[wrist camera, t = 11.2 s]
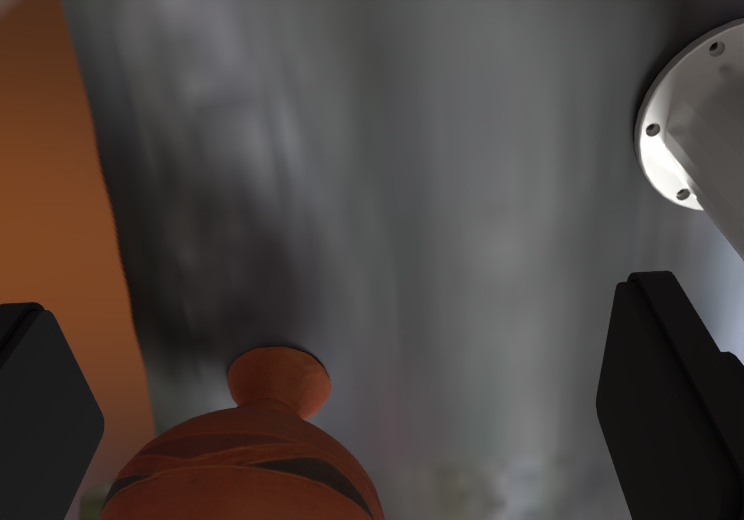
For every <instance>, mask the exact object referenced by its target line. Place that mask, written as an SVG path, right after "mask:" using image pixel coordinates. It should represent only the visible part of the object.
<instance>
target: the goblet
mask: <svg viewBox="0 0 744 520" xmlns="http://www.w3.org/2000/svg"><path fill="white" fill-rule="evenodd" d="M228 386H229V390H230V393H231V396H232V398H233V400H234V401H235V403H236V404H237V405H238V407H237V408H230V409H224V410H218V411H214V412H210V413H207V414H204V415H200V416H197V417H194V418H191V419H189V420H187V421H185V422H183V423H180V424H178V425H176V426H174V427H172V428H171V429H169V430H167V431H166V432H164V433H163V434H161V435H160V436H158V437H156V438H155V439H153V440H152V441H150V442H149V443H147V444H146V445H145V446H144V447H143V448H142V449H141V450H140V451H139V452H138V453H137V454H136V455H135V456H134V457H133V458H132V459H131V460H130V461H129V462H128V463H127V464H126V465H125V466H124V468H123V469H122V470H121V471H120V472H119V474H118V476H117V477H116V479H115V481H114V483H113V485H112V487H111V488H110V490H109V492H108V494H107V496H106V499H105V501H104V504H103V506H102V509H101V512H100V516H99V519H98V520H385V518H384V514H383V510H382V507H381V504H380V501H379V498H378V494H377V491H376V489H375V487H374V485H373V483H372V481H371V479H370V478H369V476H368V474H367V473H366V471H365V470H364V469H363V467H362V466H361V465H360V463H359V462H358V461H357V459H356V458H355V457H354V456H353V455H352V454H351V453H350V452H349V451H348V450H347V449H346V448H345V447H344V446H343V445H342V444H340V443H339V442H338V441H337V440H335V439H334V438H333V437H331V436H330V435H329V434H327V433H326V432H324V431H323V430H321V429H320V428H318V427H316V426H314V425H313V424H311V423H309V422H307V421H305V419H307V418H309V417H310V416H312V415H313V414H314V413H316V412H317V411H318V410H319V409H320V408H321V406H322V405H323V404H324V402H325V401H326V399H327V398H328V396H329V393H330V389H331V385H330V379H329V377H328V375H327V373H326V371H325V369H324V368H323V367H322V366H321V365H320V364H319V363H318V362H317V361H316V360H315V359H314V358H313V357H312V356H310V355H309V354H307V353H304V352H301V351H298V350H295V349H293V348H288V347H283V346H278V347H263V348H256V349H253V350H251V351H249V352H247V353H245V354H243V355H242V356H240V357H239V358H238V359H236V360H235V362H234V363H233V364H232V365H231V367H230V369H229V372H228Z"/></svg>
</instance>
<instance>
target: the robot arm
mask: <svg viewBox="0 0 744 520" xmlns="http://www.w3.org/2000/svg"><path fill="white" fill-rule="evenodd" d="M714 43H715V44H714ZM712 44H714V46H713V47H712V48H710V47H711V45H712ZM650 124H652V125H651V126H650V127H648V126H649V125H650ZM634 147H635V151H636V156H637V160H638V163H639V165H640V167H641V169H642V171H643V173H644V175H645V177H646V178H647V179H648V181H649V182H650V183H651V185H652V186H653V187H654V188H655V189H656V190H657V191H658V192H659V193H660V194H661V195H662V196H664V197H665V198H666V199H668V200H670V201H672V202H673V203H675V204H677V205H680V206H684V207H687V208H690V209H694V210H702V211H705V212H706V213H707V214H708V216H709V217H710V218H711V220H712V221H713V222H714V223H715V225H716V226H717V227H718V229H719V230H720V231H721V232H722V234H723V235H724V236H725V238H726V239H727V240H728V241H729V243H730V244H731V245H732V246H733V248H734V249H735V250H736V252H737V253H738V254H739V255H740V257H741V258H742V259H743V261H744V18H741V19H737V20H733V21H731V22H729V23H726V24H724V25H722V26H719V27H717V28H715V29H713V30H711V31H709V32H707V33H706V34H704V35H703V36H701V37H699V38H698V39H696V40H695V41H693V42H691V43H690V44H689V45H688V46H686V47H685V48H684V49H683V50H682V51H681V52H679V53H678V54H677V55H676V56H675V57H673V58H672V60H671V61H670V62H669V63H668V64H667V65H666V66H665V68H664V69H663V70H662V71H661V72H660V73H659V74H658V76H657V77H656V79H655V80H654V82H653V83H652V85H651V87H650V88H649V90H648V91H647V93H646V95H645V98H644V100H643V102H642V105H641V107H640V109H639V112H638V116H637V121H636V125H635V141H634ZM596 409H597V415H598V419H599V423H600V426H601V428H602V431H603V434H604V437H605V440H606V443H607V446H608V449H609V452H610V455H611V458H612V461H613V464H614V467H615V470H616V473H617V476H618V479H619V482H620V485H621V487H622V490H623V493H624V496H625V499H626V502H627V505H628V508H629V511H630V514H631V517H632V520H744V366H743V364H742V363H741V362H740V360H739V359H738V358H737V357H736V356H735V355H734V354H732V353H730V352H720V350H719V348H718V347H717V345H716V343H715V342H714V340H713V338H712V337H711V335H710V333H709V332H708V330H707V329H706V327H705V325H704V324H703V322H702V320H701V319H700V317H699V315H698V314H697V312H696V310H695V309H694V307H693V305H692V304H691V302H690V301H689V299H688V297H687V296H686V294H685V292H684V291H683V289H682V287H681V286H680V284H679V282H678V281H677V279H676V277H675V276H674V275H673V274H672V272H670V271H653V272H633V273H631V274H630V275H629V277H628V280H627V282H620V283H618V284H617V286H616V290H615V295H614V301H613V307H612V312H611V318H610V323H609V329H608V335H607V340H606V346H605V351H604V357H603V363H602V368H601V374H600V379H599V385H598V391H597V396H596ZM103 432H104V417H103V415H102V412H101V410H100V408H99V406H98V404H97V402H96V400H95V398H94V396H93V394H92V392H91V390H90V388H89V386H88V384H87V382H86V380H85V378H84V376H83V373H82V371H81V370H80V367H79V365H78V363H77V361H76V359H75V357H74V355H73V353H72V351H71V349H70V347H69V345H68V343H67V341H66V339H65V337H64V335H63V333H62V331H61V329H60V326H59V324H58V322H57V320H56V319H55V317H54V315H53V314H52V312H50V311H48V310H44V308H43V306H42V305H40V304H38V303H34V302H29V303H9V304H1V305H0V520H64V518H65V516H66V514H67V512H68V509H69V507H70V505H71V503H72V501H73V499H74V497H75V494H76V492H77V490H78V488H79V486H80V484H81V481H82V479H83V477H84V475H85V473H86V470H87V468H88V466H89V464H90V462H91V460H92V458H93V455H94V453H95V451H96V449H97V446H98V445H99V443H100V440H101V438H102V435H103Z"/></svg>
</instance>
